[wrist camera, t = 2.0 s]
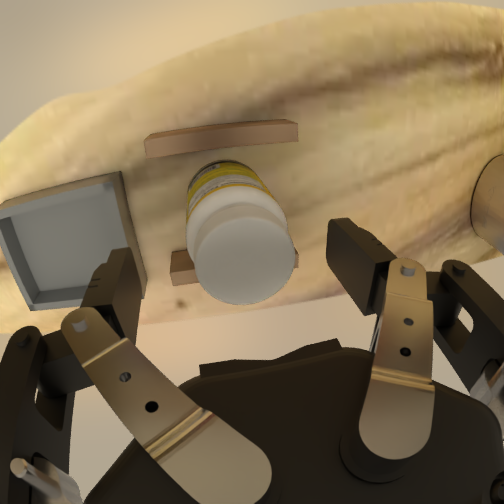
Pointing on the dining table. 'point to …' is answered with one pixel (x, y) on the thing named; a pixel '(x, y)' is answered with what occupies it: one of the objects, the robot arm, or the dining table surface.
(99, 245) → the tray
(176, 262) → the slot rails
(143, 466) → the robot arm
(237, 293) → the supplement bottle
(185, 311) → the dining table surface
